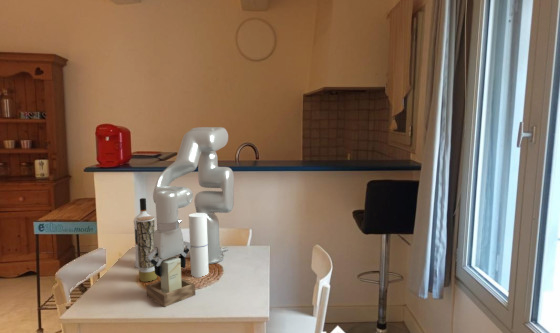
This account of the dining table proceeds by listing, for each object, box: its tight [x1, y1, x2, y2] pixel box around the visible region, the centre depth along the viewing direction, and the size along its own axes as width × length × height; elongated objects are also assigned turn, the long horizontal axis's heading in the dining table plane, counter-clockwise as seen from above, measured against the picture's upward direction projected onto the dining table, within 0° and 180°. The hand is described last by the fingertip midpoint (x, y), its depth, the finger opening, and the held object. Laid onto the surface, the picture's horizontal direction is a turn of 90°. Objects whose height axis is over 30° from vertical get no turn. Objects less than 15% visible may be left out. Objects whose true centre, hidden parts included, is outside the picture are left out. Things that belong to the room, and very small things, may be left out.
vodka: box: [133, 197, 152, 269], centre depth 173 cm, size 9×9×30 cm
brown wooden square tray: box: [145, 277, 196, 308], centre depth 144 cm, size 12×12×4 cm
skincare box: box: [160, 256, 182, 293], centre depth 143 cm, size 6×4×12 cm
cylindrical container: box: [188, 212, 209, 278], centre depth 162 cm, size 7×7×25 cm
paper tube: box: [136, 215, 158, 283], centre depth 158 cm, size 7×7×25 cm
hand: (170, 271), depth 144 cm, fingers open, 9 cm apart
